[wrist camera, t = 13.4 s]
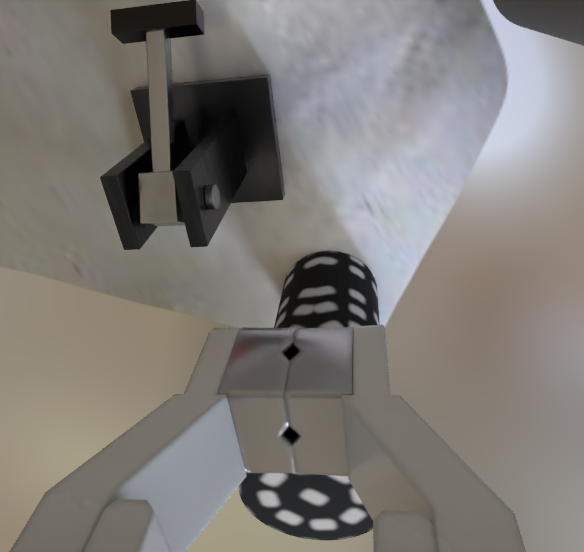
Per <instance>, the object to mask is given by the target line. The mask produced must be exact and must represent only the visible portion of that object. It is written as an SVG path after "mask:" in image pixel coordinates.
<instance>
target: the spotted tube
mask: <svg viewBox="0 0 584 552" xmlns="http://www.w3.org/2000/svg"><path fill="white" fill-rule="evenodd" d="M371 325H379V311H378V298H377V285H376V282H375V278H374V277H373V275H372V273H371V271H370V270H369V269H368V268H367V267H366V265H365V264H363V263H362V262H361V261H359V260H358V259H356V258H354V257H352V256H350V255H348V254H344V253H341V252H333V251H326V252H318V253H314V254H311V255H308V256H306V257H304V258H302V259H301V260H299V261H298V262H297V263H296V264H295V265H294V266H293V267H292V268H291V269H290V271H289V272H288V274H287V276H286V279H285V282H284V287H283V291H282V296H281V300H280V304H279V309H278V313H277V318H276V322H275V326H274V328H336V327H353V331H354V326H371ZM239 493H240V496H241V499H242V501H243V503H244V505H245V506H246V508H247V509H248V510H249V511H250V512H251V513H252V514H253V515H254V516H255V517H256V518H257V519H259V520H260V521H261V522H263V523H264V524H266V525H268V526H270V527H271V528H273V529H275V530H278V531H280V532H283V533H286V534H289V535H292V536H296V537H300V538H306V539H313V540H340V539H346V538H351V537H356V536H358V535H361V534H364V533H367V532H369V531H370V530H372V529H373V520H372V518H371V517H370V515H369V513H368V512H367V510H366V508H365V506H364V505H363V503H362V501H361V500H360V498H359V496H358V495H357V493H356V491H355V489H354V488H353V486H352V484H351V483H350V481H349V479H348V476H333V475H317V474H300V473H246V478H245V479H244V480H243V481H242V483H241V484H240V485H239Z"/></svg>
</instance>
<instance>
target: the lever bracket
mask: <svg viewBox="0 0 584 552" xmlns="http://www.w3.org/2000/svg"><path fill="white" fill-rule="evenodd" d="M131 95H132V98H133V102H134V106H135V109H136V113H137V117H138V120H139V124H140V128H141V132H142V135H143V139H144V143H143V144H142V145H140V146H139V147H138V148H137V149H135V150H134V151H133V152H132V153H130V154H129V155H128V156H126V157H125V158H124V159H123V160H121V161H120V162H119V163H118V164H116V165H115V166H114V167H113V168H111V169H110V170H109V171H107V172H106V173H105V174H104V175H102V176H101V177H100V179H101V182H102V185H103V188H104V191H105V194H106V197H107V200H108V203H109V206H110V209H111V212H112V215H113V218H114V221H115V224H116V227H117V230H118V233H119V236H120V239H121V242H122V245H123V248H124V250H133V249H140V248H141V247H142V246H143V245H144V243H145V242H146V241H147V239H148V238H149V237H150V236H151V234H152V233H153V232H154V231H155V229H156V228H157V227H158V226H153V225H146V224H141V223H140V209H139V189H138V173H148V172H153V170H152V149H151V128H150V107H149V86H147V87H137V88H135V89H133V90H131ZM173 101H174V123H175V145H176V167H177V168H176V169H175V170H174V171H173V172H172V174H173V178H174V182H175V186H176V190H177V194H178V198H179V202H180V206H181V210H182V214H183V218H184V222H185V226H186V230H187V234H188V238H189V242H190V246H191V247H204V246H208V244H209V242H210V240H211V239H212V237H213V235H214V233H215V231H216V229H217V228H218V226H219V224H220V222H221V220H222V218H223V217H224V215H225V213H226V211H227V209H228V207H229V206H230V204H231V203H237V202H254V201H272V200H283V197H284V194H285V193H284V184H283V176H282V168H281V160H280V152H279V144H278V136H277V127H276V119H275V111H274V103H273V95H272V87H271V79H270V75H259V76H249V77H239V78H229V79H219V80H208V81H198V82H188V83H178V84H173Z"/></svg>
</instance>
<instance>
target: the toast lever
mask: <svg viewBox="0 0 584 552" xmlns="http://www.w3.org/2000/svg"><path fill="white" fill-rule="evenodd" d="M111 31H112V34H113V35H114V36H115V37H116V38H117V39H118V40H120V41H121V42H122V43H123V44H125V43H134V42H142V41H146V44H147V65H148V86H149V107H150V128H151V149H152V170H153V172H148V173H138V189H139V209H140V223H141V224H146V225H153V226H176V225H185V222H184V218H183V214H182V210H181V206H180V202H179V198H178V194H177V190H176V186H175V182H174V178H173V174H172V172H173V171H174V170H175V169H176V168H177V167H176V145H175V123H174V101H173V80H172V58H171V38H178V37H186V36H195V35H204V17H203V11H202V9H201V7H200V6H199V4H198V3H197V1H196V0H188V1H180V2H172V3H164V4H156V5H148V6H140V7H132V8H124V9H116V10H111Z"/></svg>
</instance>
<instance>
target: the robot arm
mask: <svg viewBox="0 0 584 552" xmlns="http://www.w3.org/2000/svg"><path fill="white" fill-rule="evenodd" d="M246 473H300V474H317V475H333V476H348V479H349V481H350V483H351V484H352V486H353V488H354V489H355V491H356V493H357V495H358V496H359V498H360V500H361V501H362V503H363V505H364V506H365V508H366V510H367V512H368V513H369V515H370V517H371V518H372V520H373V533H374V534H373V539H374V552H526V551H525V547H524V544H523V540H522V537H521V534H520V530H519V527H518V524H517V520H516V517H515V514H514V513H513V511H512V510H511V509H510V508H509V507H508V506H507V505H505V503H504V502H503V501H502V500H501V499H500V498H499V497H498V496H497V495H496V494H495V493H494V492H493V491H492V490H491V489H490V488H489V487H488V486H487V485H486V484H485V483H484V482H483V481H482V480H481V479H480V478H479V477H478V476H477V474H475V472H474V471H473V470H472V469H471V468H470V467H469V466H468V465H467V464H466V463H465V462H464V461H463V460H462V459H461V458H460V457H459V456H458V455H457V454H456V453H455V452H454V451H453V450H452V449H451V448H450V447H449V446H448V445H447V444H446V443H445V441H444V440H443V439H442V438H441V437H440V436H439V435H438V434H437V433H436V432H435V431H434V430H433V429H432V428H431V427H430V426H429V425H428V424H427V423H426V422H425V421H424V420H423V419H422V418H421V417H420V416H419V415H418V414H417V413H416V412H415V411H414V410H413V409H412V407H411V406H410V405H409V404H408V403H407V402H406V401H405V400H404V399H403V398H402V397H401V396H391V395H390V384H389V373H388V360H387V348H386V336H385V328H384V326H383V325H371V326H354V331H353V327H336V328H214V329H213V330H212V331H211V332H210V333H209V334H208V337H207V339H206V342H205V344H204V346H203V349H202V351H201V354H200V356H199V358H198V361H197V363H196V366H195V368H194V371H193V373H192V375H191V378H190V380H189V383H188V385H187V388H186V390H185V392H184V394H175V395H173V396H172V397H171V398H170V399H168V400H167V401H166V402H164V403H163V404H162V405H161V406H159V407H158V408H156V409H155V410H154V411H153V412H151V413H150V414H148V415H147V416H146V417H144V418H143V419H142V420H141V421H139V422H138V423H136V424H135V425H134V426H133V427H131V428H130V429H129V430H127V431H126V432H125V433H123V434H122V435H121V436H119V437H118V438H117V439H115V440H114V441H113V442H111V443H110V444H109V445H107V446H106V447H105V448H103V449H102V450H101V451H100V452H98V453H97V454H96V455H94V456H93V457H92V458H90V459H89V460H88V461H86V462H85V463H84V464H82V465H81V466H80V467H78V468H77V469H76V470H74V471H73V472H72V473H70V474H69V475H68V476H67V477H65V478H64V479H63V480H61V481H60V482H59V483H57V484H56V485H55V486H53V487H52V488H51V489H50V490H48V491H47V492H45V494H44V495H43V497H42V499H41V501H40V502H39V504H38V505H37V507H36V509H35V510H34V512H33V514H32V515H31V517H30V519H29V520H28V522H27V524H26V525H25V527H24V529H23V530H22V532H21V534H20V535H19V537H18V539H17V540H16V542H15V543H14V545H13V547H12V548H11V550H10V552H186V551H187V549H188V548H189V547H190V546H191V544H192V543H193V542H194V541H195V539H196V538H197V537H198V536H199V534H200V533H201V532H202V531H203V529H204V528H205V527H206V526H207V524H208V523H209V522H210V521H211V520H212V518H213V517H214V516H215V515H216V513H217V512H218V511H219V510H220V508H221V507H222V506H223V505H224V504H225V502H226V501H227V500H228V499H229V497H230V496H231V495H232V494H233V492H234V491H235V490H236V489H237V487H238V486H239V485H240V484H241V483H242V481H243V480H244V479H245V478H246Z"/></svg>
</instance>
